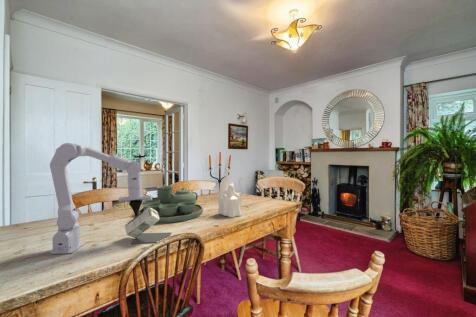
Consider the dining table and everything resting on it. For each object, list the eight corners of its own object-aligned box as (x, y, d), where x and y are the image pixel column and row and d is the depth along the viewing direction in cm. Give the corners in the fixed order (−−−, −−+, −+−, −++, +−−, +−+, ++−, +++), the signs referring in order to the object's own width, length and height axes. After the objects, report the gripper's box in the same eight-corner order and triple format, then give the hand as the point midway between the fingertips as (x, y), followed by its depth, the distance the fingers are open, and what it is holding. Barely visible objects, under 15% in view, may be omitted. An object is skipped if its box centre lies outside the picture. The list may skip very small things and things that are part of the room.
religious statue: (227, 219, 140) (228, 169, 139) (216, 213, 152) (217, 168, 150) (250, 214, 150) (251, 168, 149) (238, 209, 161) (239, 167, 160)
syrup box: (133, 229, 112) (157, 210, 113) (135, 239, 108) (160, 219, 109) (124, 225, 108) (149, 205, 108) (126, 235, 104) (152, 215, 105)
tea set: (124, 219, 140) (123, 192, 139) (167, 205, 177) (167, 183, 176) (178, 227, 125) (178, 197, 124) (213, 210, 162) (213, 186, 161)
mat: (165, 242, 103) (165, 241, 103) (131, 243, 102) (131, 242, 102) (171, 233, 115) (171, 232, 115) (140, 234, 114) (140, 233, 114)
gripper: (153, 185, 112) (155, 212, 113) (122, 186, 111) (124, 214, 112) (148, 187, 105) (150, 217, 106) (115, 189, 104) (117, 219, 105)
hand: (136, 216), depth 108 cm, fingers closed, pressing on syrup box
